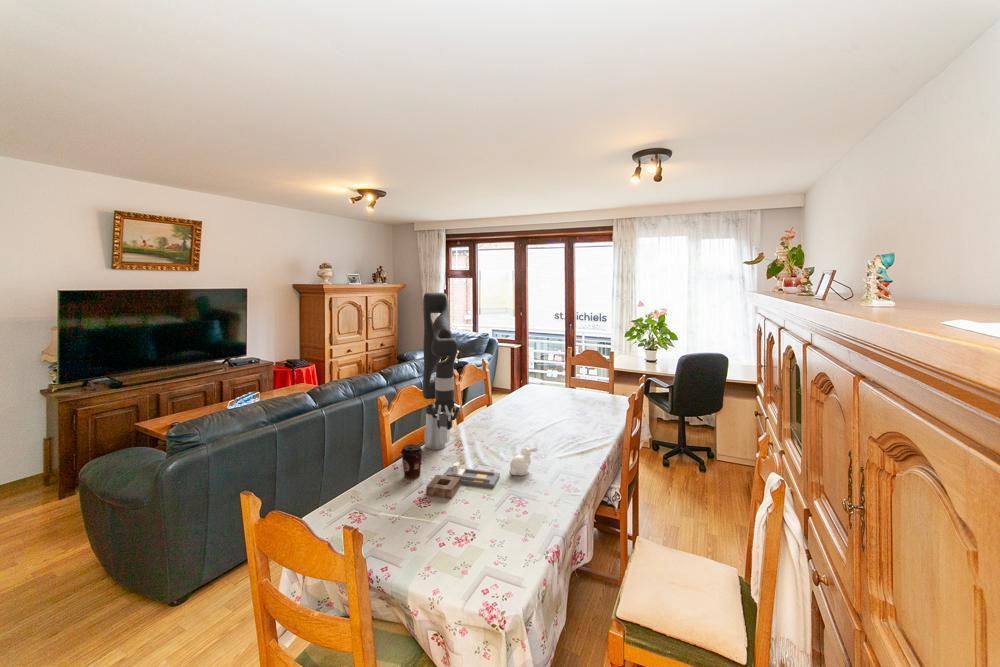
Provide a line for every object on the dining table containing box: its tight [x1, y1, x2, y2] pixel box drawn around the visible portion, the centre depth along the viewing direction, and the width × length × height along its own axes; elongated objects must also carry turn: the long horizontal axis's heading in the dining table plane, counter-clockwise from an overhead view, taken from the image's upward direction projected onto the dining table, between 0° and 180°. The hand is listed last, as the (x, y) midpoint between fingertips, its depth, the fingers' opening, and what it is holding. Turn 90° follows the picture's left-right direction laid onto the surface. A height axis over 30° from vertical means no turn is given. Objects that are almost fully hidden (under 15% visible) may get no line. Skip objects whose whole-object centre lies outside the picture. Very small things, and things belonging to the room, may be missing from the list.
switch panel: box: [442, 466, 501, 489], centre depth 175 cm, size 22×10×3 cm, turn 76°
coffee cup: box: [400, 443, 424, 481], centre depth 176 cm, size 9×8×13 cm
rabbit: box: [508, 446, 538, 477], centre depth 181 cm, size 12×9×12 cm
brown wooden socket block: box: [425, 474, 461, 500], centre depth 165 cm, size 10×10×4 cm
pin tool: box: [439, 412, 451, 444], centre depth 175 cm, size 3×3×12 cm
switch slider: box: [452, 462, 466, 475], centre depth 176 cm, size 4×5×4 cm
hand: (444, 428), depth 175 cm, fingers closed on pin tool, 3 cm apart
